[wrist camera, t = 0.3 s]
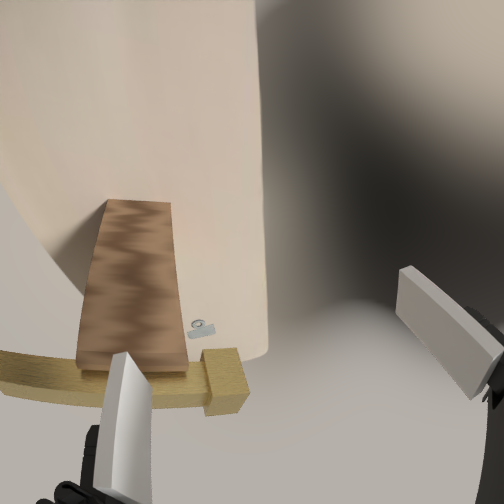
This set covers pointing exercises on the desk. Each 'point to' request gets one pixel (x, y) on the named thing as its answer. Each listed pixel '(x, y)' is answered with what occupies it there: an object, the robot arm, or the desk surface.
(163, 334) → the hinge block
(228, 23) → the desk surface
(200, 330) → the mounting bracket
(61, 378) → the golden wooden bar
